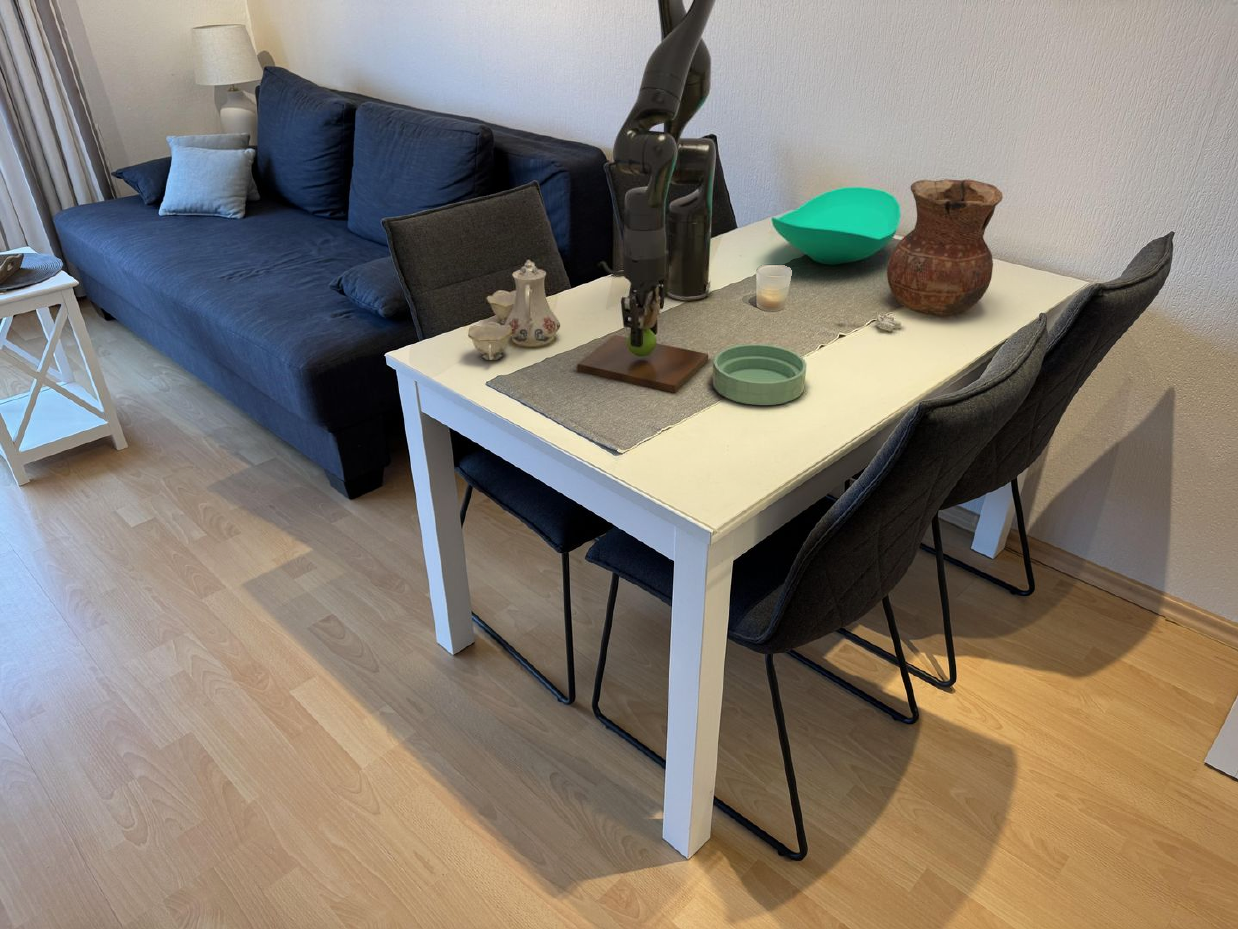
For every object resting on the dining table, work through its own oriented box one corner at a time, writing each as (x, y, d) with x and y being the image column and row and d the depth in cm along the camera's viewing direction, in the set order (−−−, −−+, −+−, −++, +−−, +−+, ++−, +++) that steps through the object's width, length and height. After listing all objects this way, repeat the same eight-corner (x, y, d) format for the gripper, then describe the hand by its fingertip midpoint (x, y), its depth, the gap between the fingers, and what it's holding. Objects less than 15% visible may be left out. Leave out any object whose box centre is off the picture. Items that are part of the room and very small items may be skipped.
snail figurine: (651, 364, 160) (652, 302, 154) (621, 357, 163) (621, 295, 157) (665, 354, 164) (667, 292, 158) (636, 346, 167) (636, 286, 161)
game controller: (904, 331, 177) (906, 319, 176) (850, 336, 175) (852, 324, 174) (892, 321, 182) (894, 309, 180) (839, 325, 180) (841, 313, 179)
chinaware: (488, 319, 188) (473, 243, 180) (565, 310, 188) (553, 234, 179) (471, 376, 165) (452, 293, 156) (558, 367, 164) (545, 282, 155)
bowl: (698, 394, 154) (699, 371, 152) (732, 359, 166) (733, 337, 164) (786, 414, 148) (789, 390, 145) (815, 376, 160) (818, 354, 158)
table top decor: (847, 295, 194) (855, 236, 188) (740, 270, 209) (744, 214, 202) (916, 249, 221) (925, 196, 214) (817, 230, 236) (822, 180, 229)
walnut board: (577, 370, 163) (576, 363, 162) (615, 341, 174) (615, 334, 173) (674, 393, 155) (675, 385, 154) (708, 360, 166) (708, 353, 165)
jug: (973, 331, 177) (1000, 207, 164) (870, 312, 186) (888, 193, 173) (992, 296, 193) (1018, 180, 180) (897, 280, 202) (915, 169, 189)
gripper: (643, 236, 160) (643, 323, 169) (606, 259, 149) (607, 350, 158) (681, 242, 157) (678, 330, 166) (645, 266, 146) (644, 358, 155)
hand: (643, 339), depth 162 cm, fingers closed on snail figurine, 5 cm apart
